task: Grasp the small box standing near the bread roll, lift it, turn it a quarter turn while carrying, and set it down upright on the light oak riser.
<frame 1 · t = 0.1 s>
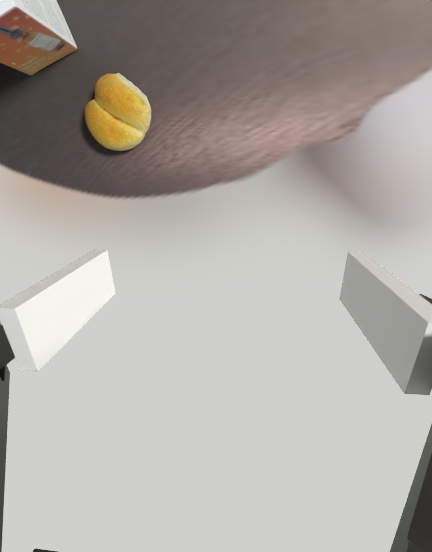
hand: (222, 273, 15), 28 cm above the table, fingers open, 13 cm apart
bread roll: (122, 115, 38), on the table
small box: (44, 39, 35), on the table
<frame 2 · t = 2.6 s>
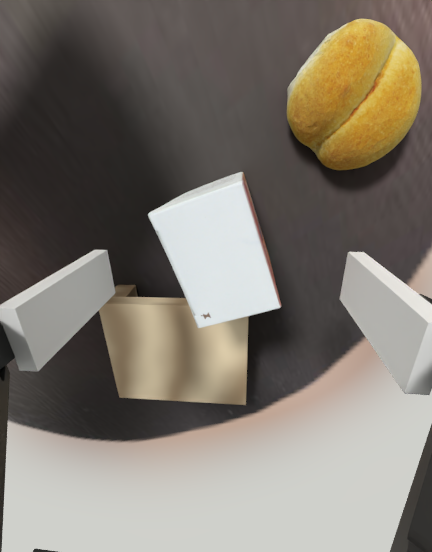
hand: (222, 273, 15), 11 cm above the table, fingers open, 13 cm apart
bread roll: (342, 105, 21), on the table
small box: (227, 223, 25), on the table
oak riser: (184, 333, 30), on the table
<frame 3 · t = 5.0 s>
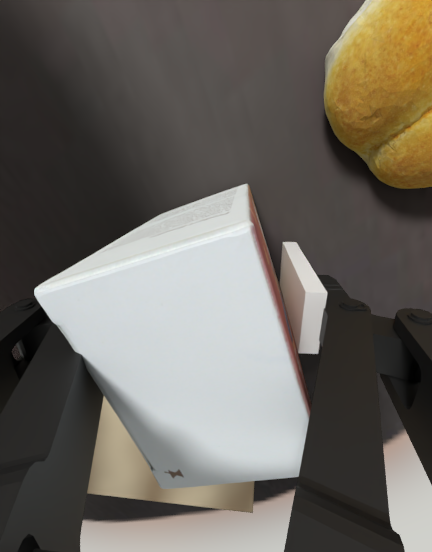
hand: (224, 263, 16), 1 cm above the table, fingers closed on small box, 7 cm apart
bread roll: (412, 86, 13), on the table
small box: (224, 258, 17), on the table, touching gripper
oak riser: (169, 403, 22), on the table
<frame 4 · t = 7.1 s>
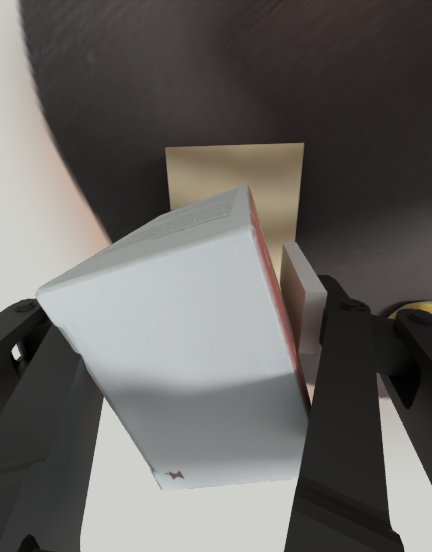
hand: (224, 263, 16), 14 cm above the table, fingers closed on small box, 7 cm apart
bread roll: (408, 328, 33), on the table
small box: (224, 259, 17), point 14 cm above the table, touching gripper
oak riser: (234, 217, 29), on the table
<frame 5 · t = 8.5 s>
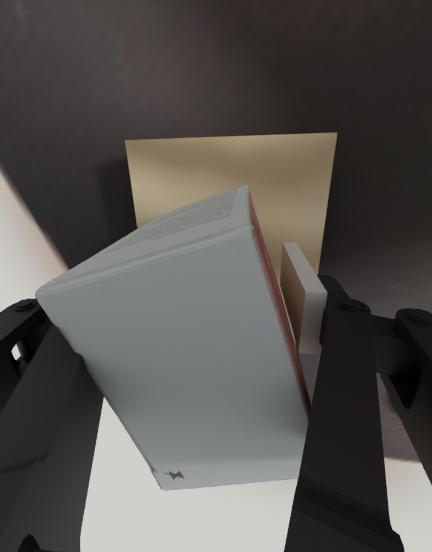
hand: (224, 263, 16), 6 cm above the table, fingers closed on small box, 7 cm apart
small box: (224, 259, 17), point 5 cm above the table, touching gripper
oak riser: (230, 238, 21), on the table
when the fingers open (5 cm above the table, at t = 9.4 s): small box stays where it is, resting on oak riser.
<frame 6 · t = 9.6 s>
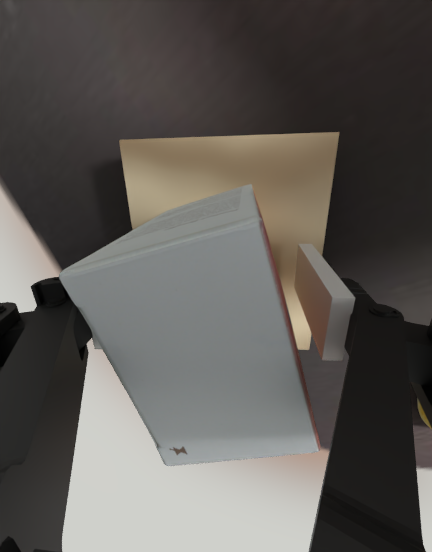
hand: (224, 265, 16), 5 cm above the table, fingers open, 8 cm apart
small box: (226, 255, 17), point 4 cm above the table, touching oak riser
oak riser: (229, 241, 21), on the table
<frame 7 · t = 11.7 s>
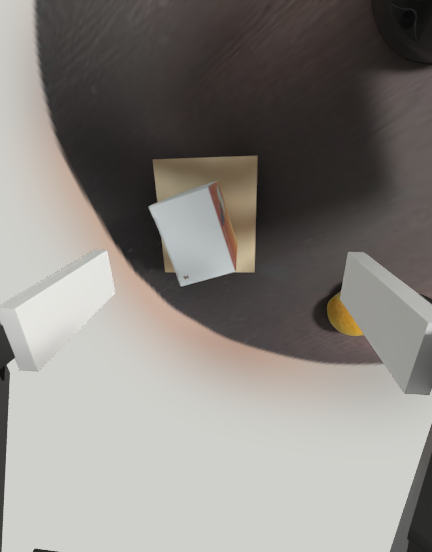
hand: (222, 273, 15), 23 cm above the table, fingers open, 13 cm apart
bread roll: (356, 302, 40), on the table
small box: (207, 218, 33), point 4 cm above the table, touching oak riser
oak riser: (210, 214, 37), on the table
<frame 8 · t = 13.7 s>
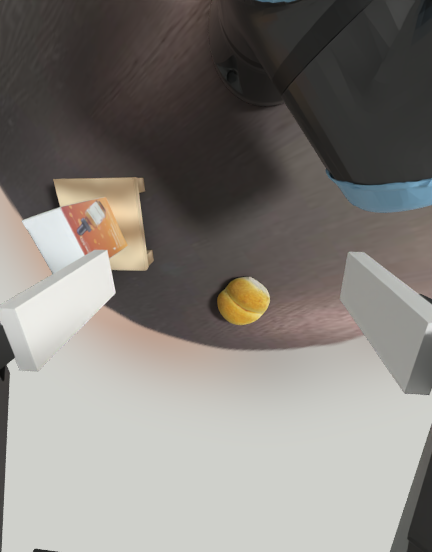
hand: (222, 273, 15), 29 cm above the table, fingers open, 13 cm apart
bread roll: (243, 296, 48), on the table
small box: (102, 226, 41), point 4 cm above the table, touching oak riser
oak riser: (113, 221, 44), on the table
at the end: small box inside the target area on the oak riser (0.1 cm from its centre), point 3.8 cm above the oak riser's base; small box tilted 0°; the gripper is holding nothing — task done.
